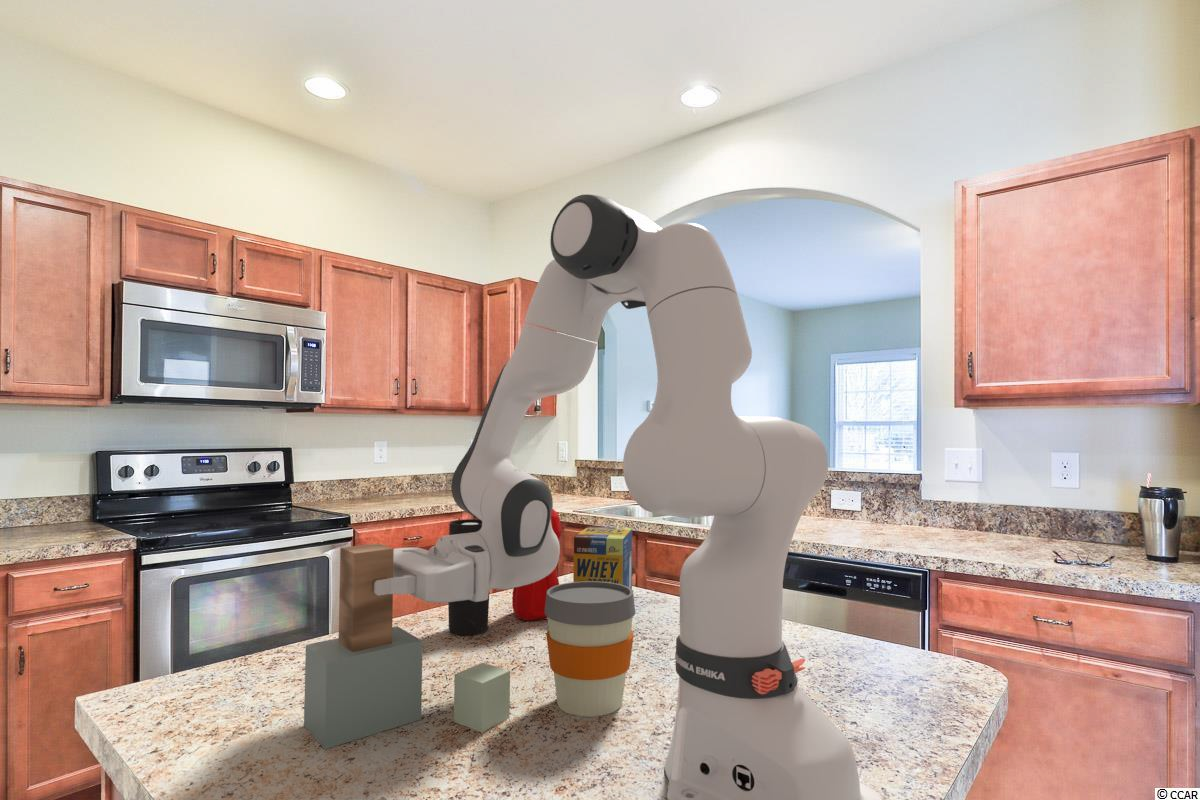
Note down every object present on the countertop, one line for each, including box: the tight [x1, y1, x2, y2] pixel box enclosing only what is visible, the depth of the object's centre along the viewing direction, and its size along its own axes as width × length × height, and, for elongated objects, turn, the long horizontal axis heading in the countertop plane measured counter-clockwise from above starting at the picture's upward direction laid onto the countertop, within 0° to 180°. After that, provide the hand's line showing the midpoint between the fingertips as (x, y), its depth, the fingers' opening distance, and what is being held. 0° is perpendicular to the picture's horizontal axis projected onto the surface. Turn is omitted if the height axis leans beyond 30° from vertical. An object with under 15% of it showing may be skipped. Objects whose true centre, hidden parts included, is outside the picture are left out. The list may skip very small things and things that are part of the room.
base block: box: [303, 626, 423, 750], centre depth 82 cm, size 8×12×10 cm, turn 131°
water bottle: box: [511, 508, 562, 622], centre depth 129 cm, size 9×11×25 cm
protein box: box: [572, 525, 633, 590], centre depth 138 cm, size 10×15×16 cm
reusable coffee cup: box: [545, 581, 636, 718], centre depth 89 cm, size 13×12×15 cm
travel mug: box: [447, 518, 490, 637], centre depth 120 cm, size 8×8×20 cm
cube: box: [453, 662, 511, 733], centre depth 83 cm, size 5×5×6 cm
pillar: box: [338, 542, 395, 652], centre depth 83 cm, size 5×5×12 cm
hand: (359, 580), depth 82 cm, fingers open, 8 cm apart
